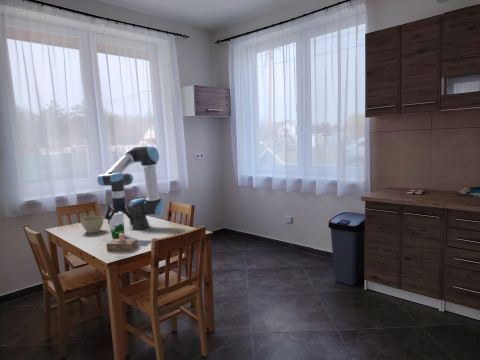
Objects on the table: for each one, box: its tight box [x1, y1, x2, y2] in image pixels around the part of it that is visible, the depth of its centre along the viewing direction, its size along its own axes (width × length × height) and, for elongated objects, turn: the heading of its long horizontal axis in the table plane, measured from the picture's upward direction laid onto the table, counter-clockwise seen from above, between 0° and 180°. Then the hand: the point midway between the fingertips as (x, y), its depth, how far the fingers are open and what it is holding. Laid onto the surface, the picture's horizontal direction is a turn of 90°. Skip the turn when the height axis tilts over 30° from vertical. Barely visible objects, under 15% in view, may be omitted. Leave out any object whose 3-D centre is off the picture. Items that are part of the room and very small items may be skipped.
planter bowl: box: [80, 215, 105, 234], centre depth 260 cm, size 16×16×11 cm
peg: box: [118, 232, 125, 243], centre depth 216 cm, size 3×3×10 cm
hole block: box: [106, 238, 139, 252], centre depth 216 cm, size 10×16×5 cm, turn 81°
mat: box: [137, 239, 152, 247], centre depth 226 cm, size 12×12×1 cm
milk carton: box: [109, 209, 125, 240], centre depth 242 cm, size 9×9×20 cm
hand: (121, 229), depth 215 cm, fingers open, 13 cm apart
